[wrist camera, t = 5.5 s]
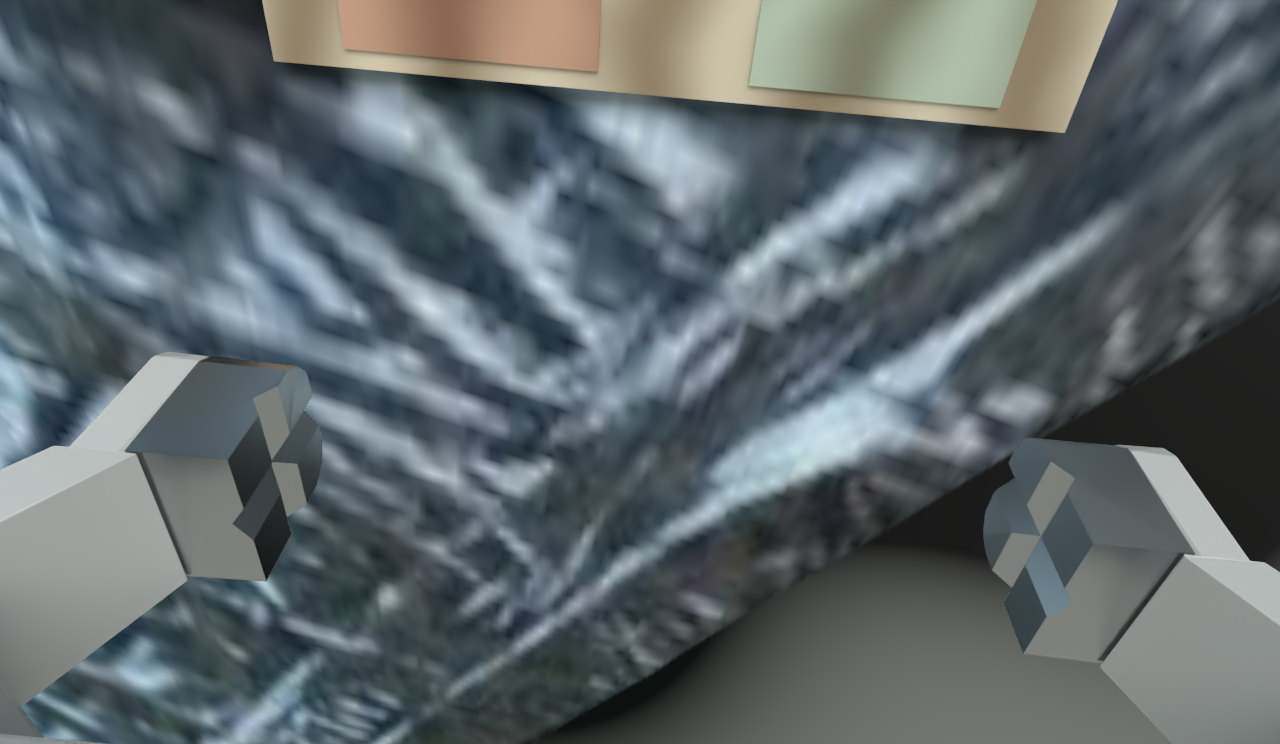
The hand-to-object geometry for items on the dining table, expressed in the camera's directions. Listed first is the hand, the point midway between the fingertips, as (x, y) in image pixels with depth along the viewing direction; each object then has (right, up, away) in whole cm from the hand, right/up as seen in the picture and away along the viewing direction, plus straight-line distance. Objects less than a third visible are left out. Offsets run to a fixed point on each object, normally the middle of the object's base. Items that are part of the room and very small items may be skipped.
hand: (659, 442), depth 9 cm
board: (+1, +16, +21) cm, 27 cm away
